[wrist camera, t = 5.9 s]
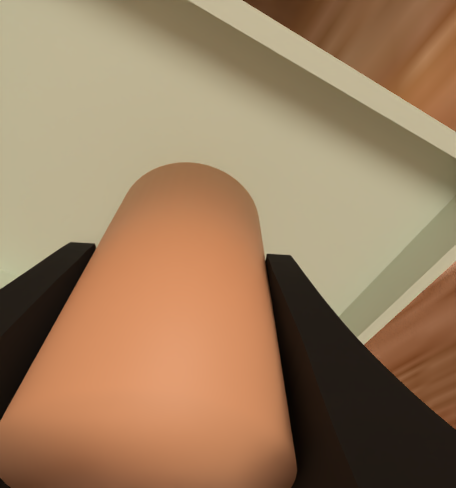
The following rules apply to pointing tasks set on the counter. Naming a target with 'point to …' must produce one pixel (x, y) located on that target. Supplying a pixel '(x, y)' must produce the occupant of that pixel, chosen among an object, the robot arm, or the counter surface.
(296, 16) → the counter surface
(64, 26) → the tray
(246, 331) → the peg
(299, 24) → the counter surface
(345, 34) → the counter surface
